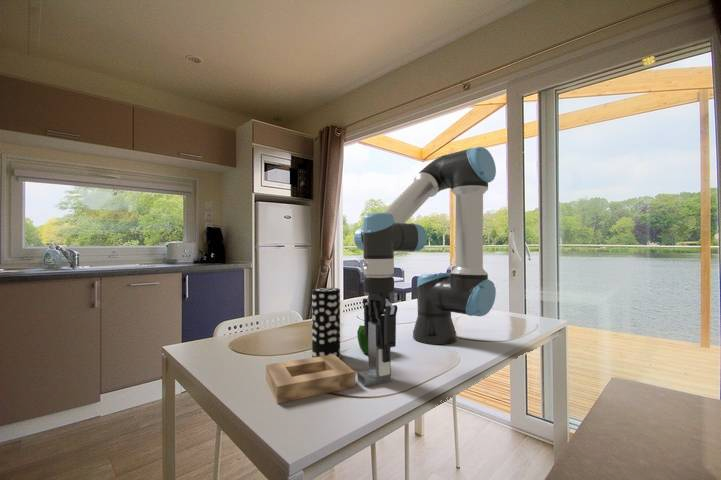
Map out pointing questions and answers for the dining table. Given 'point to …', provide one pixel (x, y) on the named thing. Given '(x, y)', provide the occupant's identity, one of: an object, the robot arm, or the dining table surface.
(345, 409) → the dining table surface
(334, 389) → the wooden rectangular frame
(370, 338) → the bracket
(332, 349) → the white-spotted black cylinder
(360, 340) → the bell pepper
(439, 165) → the robot arm
